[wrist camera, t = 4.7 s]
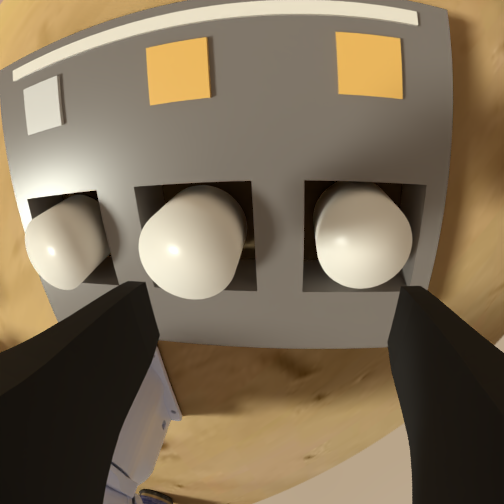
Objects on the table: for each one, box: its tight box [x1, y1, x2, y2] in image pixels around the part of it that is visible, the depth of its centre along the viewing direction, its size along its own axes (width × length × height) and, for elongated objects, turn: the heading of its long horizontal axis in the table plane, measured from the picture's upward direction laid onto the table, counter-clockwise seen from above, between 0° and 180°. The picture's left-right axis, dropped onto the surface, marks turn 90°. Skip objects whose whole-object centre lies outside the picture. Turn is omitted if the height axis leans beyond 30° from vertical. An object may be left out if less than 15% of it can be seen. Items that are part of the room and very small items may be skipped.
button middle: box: [139, 185, 247, 300], centre depth 13 cm, size 4×4×3 cm
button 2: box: [25, 195, 110, 290], centre depth 14 cm, size 4×4×3 cm
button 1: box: [313, 181, 412, 289], centre depth 13 cm, size 4×4×3 cm
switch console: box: [0, 0, 453, 349], centre depth 14 cm, size 16×21×3 cm
